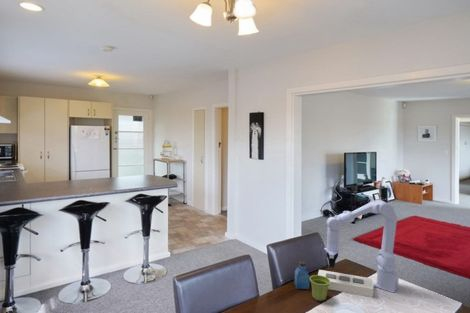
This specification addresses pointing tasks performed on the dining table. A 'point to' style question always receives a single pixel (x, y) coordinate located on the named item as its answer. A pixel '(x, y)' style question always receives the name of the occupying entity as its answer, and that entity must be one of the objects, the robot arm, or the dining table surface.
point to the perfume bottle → (301, 276)
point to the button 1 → (331, 276)
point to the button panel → (349, 284)
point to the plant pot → (319, 286)
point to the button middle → (344, 278)
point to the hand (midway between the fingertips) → (331, 267)
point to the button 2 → (358, 281)
